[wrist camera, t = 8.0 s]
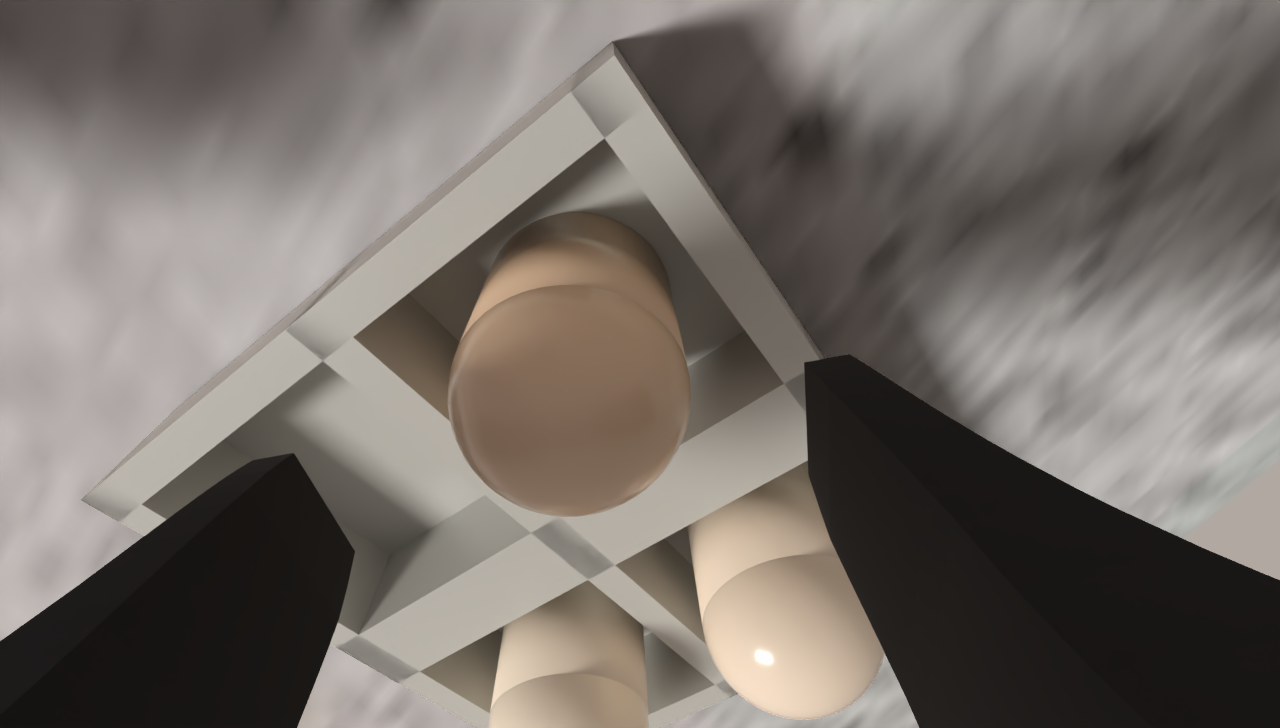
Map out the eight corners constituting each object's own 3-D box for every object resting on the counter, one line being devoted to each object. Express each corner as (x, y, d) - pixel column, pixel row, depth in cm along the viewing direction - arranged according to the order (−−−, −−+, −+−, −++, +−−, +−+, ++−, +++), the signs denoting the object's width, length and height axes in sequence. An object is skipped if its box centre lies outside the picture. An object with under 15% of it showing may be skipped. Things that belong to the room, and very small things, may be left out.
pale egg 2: (655, 493, 16) (676, 700, 12) (785, 419, 15) (868, 613, 10) (732, 571, 18) (778, 778, 13) (854, 510, 17) (951, 711, 12)
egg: (514, 390, 14) (469, 587, 10) (462, 230, 12) (371, 379, 8) (681, 363, 14) (719, 550, 9) (656, 196, 12) (689, 326, 7)
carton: (171, 412, 15) (80, 500, 12) (612, 41, 11) (614, 55, 9) (561, 680, 21) (556, 773, 19) (921, 503, 18) (974, 589, 15)
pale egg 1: (480, 593, 18) (435, 808, 13) (586, 533, 17) (578, 744, 12) (566, 655, 20) (554, 864, 15) (667, 604, 19) (688, 812, 14)
